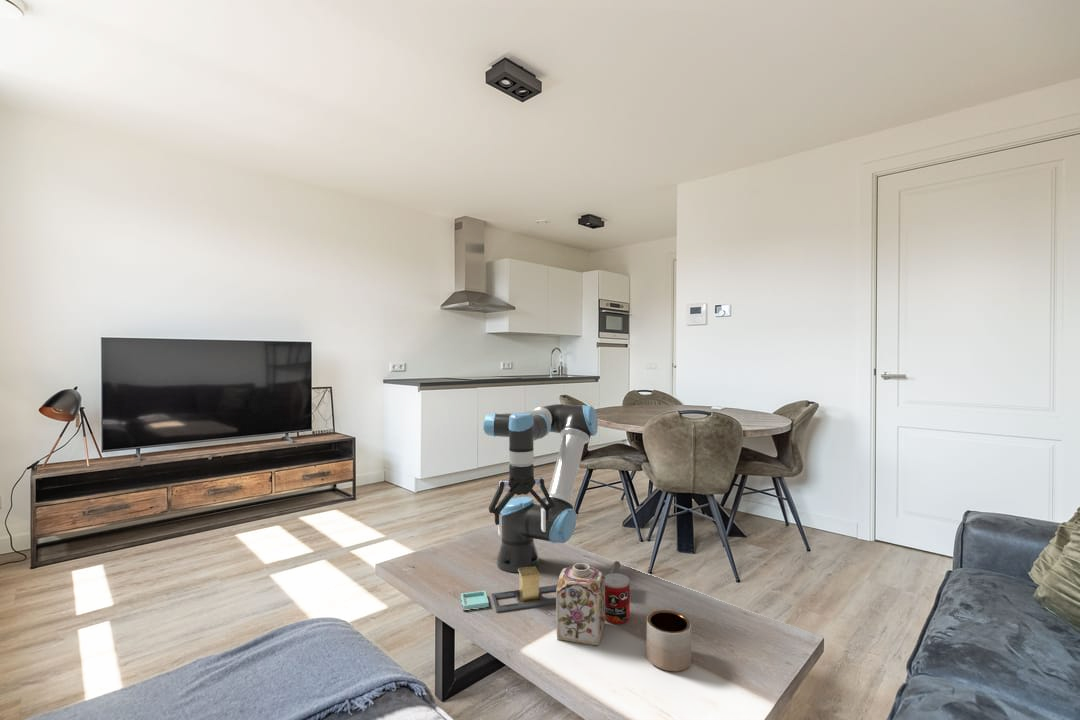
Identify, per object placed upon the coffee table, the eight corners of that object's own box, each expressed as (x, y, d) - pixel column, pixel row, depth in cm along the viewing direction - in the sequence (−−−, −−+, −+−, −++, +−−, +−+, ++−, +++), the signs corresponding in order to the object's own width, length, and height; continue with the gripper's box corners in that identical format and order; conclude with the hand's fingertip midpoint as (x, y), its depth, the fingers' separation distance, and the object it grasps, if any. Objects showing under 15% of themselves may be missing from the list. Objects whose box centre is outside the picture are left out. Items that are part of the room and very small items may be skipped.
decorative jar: (606, 622, 137) (605, 559, 137) (599, 647, 126) (599, 578, 125) (564, 616, 140) (564, 555, 140) (555, 640, 129) (554, 573, 129)
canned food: (599, 621, 137) (599, 583, 137) (605, 607, 145) (605, 571, 145) (626, 627, 135) (626, 587, 135) (631, 612, 142) (631, 575, 142)
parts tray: (485, 595, 153) (485, 590, 153) (488, 607, 145) (488, 602, 145) (460, 598, 151) (460, 593, 151) (463, 611, 143) (463, 606, 143)
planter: (664, 678, 114) (664, 638, 113) (637, 652, 124) (637, 614, 123) (701, 666, 118) (701, 627, 118) (672, 641, 128) (672, 605, 128)
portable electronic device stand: (599, 584, 160) (599, 558, 160) (623, 587, 158) (623, 561, 157) (595, 597, 151) (595, 570, 151) (620, 600, 149) (620, 573, 149)
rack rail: (558, 588, 157) (558, 584, 157) (567, 602, 148) (567, 598, 148) (491, 597, 151) (491, 593, 151) (496, 612, 143) (496, 608, 143)
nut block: (535, 594, 153) (535, 566, 153) (540, 603, 148) (539, 573, 148) (518, 596, 152) (518, 568, 152) (522, 605, 146) (521, 576, 146)
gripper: (557, 458, 156) (557, 524, 156) (479, 463, 150) (479, 531, 150) (563, 464, 148) (564, 533, 149) (482, 469, 142) (482, 541, 143)
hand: (521, 532), depth 149 cm, fingers open, 13 cm apart
